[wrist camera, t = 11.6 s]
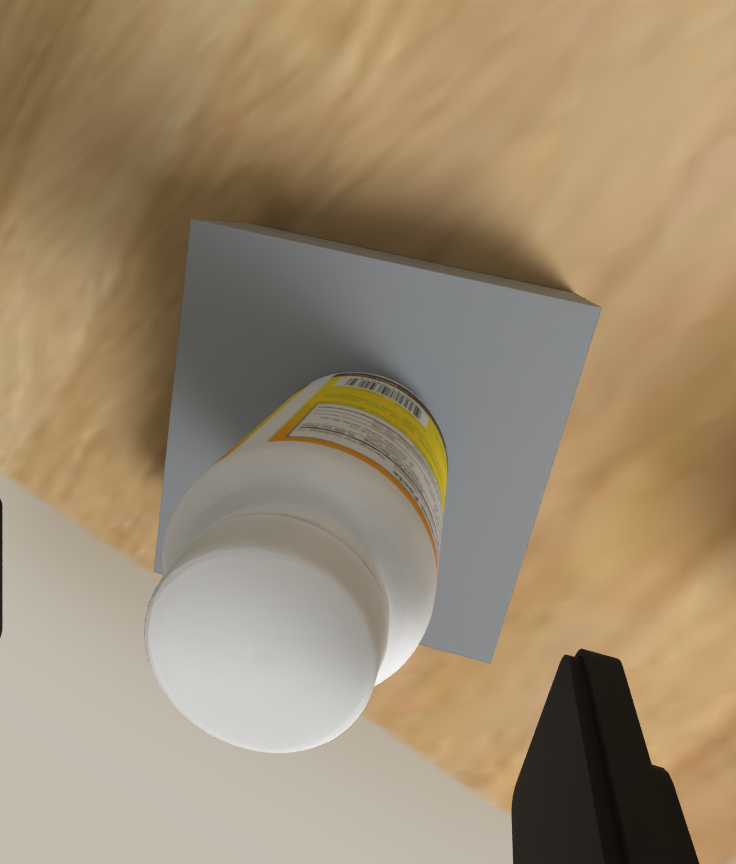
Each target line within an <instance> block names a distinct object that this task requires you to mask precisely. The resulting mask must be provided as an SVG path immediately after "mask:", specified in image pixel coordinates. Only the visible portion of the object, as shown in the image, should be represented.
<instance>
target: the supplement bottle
mask: <svg viewBox="0 0 736 864" xmlns="http://www.w3.org/2000/svg"><path fill="white" fill-rule="evenodd" d="M447 475H448V457H447V449H446V444H445V440H444V437H443V434H442V431H441V429H440V427H439V425H438V423H437V420H436V419H435V417H434V416H433V414H432V412H431V411H430V410H429V408H428V407H427V406H426V405H425V404H424V403H423V402H422V401H421V400H420V399H419V398H418V397H417V396H416V395H415V394H414V393H413V392H411V391H410V390H409V389H407V388H406V387H404V386H403V385H401V384H399V383H397V382H395V381H393V380H391V379H388V378H386V377H383V376H379V375H376V374H371V373H364V372H343V373H337V374H332V375H328V376H325V377H322V378H320V379H317V380H315V381H313V382H311V383H309V384H308V385H306V386H305V387H303V388H302V389H300V390H299V391H297V392H296V393H295V394H294V395H293V396H291V397H290V398H289V399H288V400H287V401H286V402H284V403H283V404H282V405H281V406H280V407H279V408H278V409H276V410H275V411H274V412H273V413H272V414H271V415H270V416H268V417H267V418H266V419H265V420H264V421H263V422H262V423H260V424H259V425H258V426H257V427H256V428H255V429H254V430H253V431H251V432H250V433H249V434H248V435H247V436H246V437H244V438H243V439H242V440H241V441H240V442H239V443H238V444H236V445H235V446H234V447H233V448H232V449H231V450H229V451H228V452H227V453H226V454H225V455H224V456H222V457H221V458H220V459H219V460H218V461H216V462H215V463H214V464H213V465H212V466H211V467H209V468H208V469H207V470H206V471H205V472H204V473H203V474H202V475H201V476H200V477H199V478H198V479H197V480H196V481H195V482H194V483H193V484H192V485H191V487H190V488H189V489H188V490H187V492H186V493H185V494H184V496H183V497H182V499H181V500H180V502H179V503H178V505H177V507H176V509H175V511H174V512H173V514H172V517H171V519H170V522H169V525H168V528H167V531H166V535H165V540H164V545H163V553H162V568H163V578H162V579H161V581H160V582H159V584H158V585H157V587H156V588H155V591H154V593H153V595H152V597H151V600H150V602H149V605H148V610H147V613H146V617H145V632H144V633H145V634H144V635H145V647H146V651H147V656H148V660H149V662H150V665H151V668H152V670H153V673H154V675H155V678H156V680H157V682H158V683H159V685H160V687H161V688H162V690H163V691H164V693H165V694H166V696H167V697H168V698H169V700H170V701H171V702H172V703H173V705H174V706H175V707H176V708H177V709H178V710H179V711H180V712H181V713H182V714H183V715H184V716H185V717H187V718H188V719H189V720H190V721H191V722H192V723H194V724H195V725H196V726H198V727H200V728H201V729H202V730H204V731H205V732H207V733H208V734H210V735H212V736H215V737H216V738H218V739H220V740H223V741H225V742H227V743H230V744H232V745H234V746H238V747H242V748H247V749H250V750H253V751H260V752H267V753H268V752H269V753H287V752H298V751H303V750H307V749H310V748H314V747H316V746H319V745H321V744H324V743H326V742H328V741H330V740H332V739H334V738H335V737H337V736H338V735H340V734H341V733H342V732H344V731H345V730H346V729H347V728H348V727H350V725H351V724H352V723H353V722H354V721H355V720H356V719H357V718H358V717H359V715H360V714H361V712H362V711H363V710H364V708H365V706H366V704H367V702H368V700H369V698H370V696H371V693H372V690H373V687H374V686H376V685H377V684H379V683H381V682H382V681H384V680H385V679H387V678H388V677H389V676H391V675H392V674H393V673H395V672H396V671H397V670H398V669H399V668H400V667H401V666H402V665H403V664H404V663H405V662H406V661H407V660H408V658H409V657H410V656H411V655H412V653H413V652H414V651H415V649H416V648H417V646H418V644H419V643H420V641H421V639H422V637H423V636H424V634H425V631H426V629H427V627H428V624H429V621H430V619H431V615H432V611H433V606H434V601H435V594H436V587H437V576H438V566H439V553H440V544H441V534H442V524H443V514H444V504H445V494H446V484H447Z"/></svg>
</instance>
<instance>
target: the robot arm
mask: <svg viewBox="0 0 736 864" xmlns="http://www.w3.org/2000/svg"><path fill="white" fill-rule="evenodd" d="M1 634H2V502H1V500H0V637H1ZM512 841H513V864H699V862H698V858H697V855H696V852H695V849H694V846H693V843H692V840H691V837H690V834H689V831H688V828H687V824H686V821H685V818H684V815H683V812H682V809H681V806H680V803H679V800H678V797H677V794H676V790H675V787H674V784H673V782H672V780H671V777H670V775H669V773H668V772H667V771H666V770H665V769H664V768H662V767H658V766H655V765H652V764H651V760H650V757H649V754H648V750H647V747H646V744H645V740H644V737H643V733H642V730H641V727H640V723H639V720H638V716H637V713H636V710H635V706H634V703H633V699H632V696H631V693H630V689H629V686H628V683H627V679H626V676H625V672H624V669H623V666H622V663H621V661H620V660H619V659H617V658H613V657H610V656H606V655H603V654H599V653H595V652H592V651H588V650H584V649H580V650H579V651H578V652H577V653H576V655H575V657H573V656H569V655H564V656H563V658H562V660H561V662H560V664H559V667H558V670H557V673H556V675H555V678H554V681H553V684H552V686H551V689H550V692H549V695H548V697H547V700H546V703H545V706H544V708H543V711H542V714H541V717H540V719H539V722H538V725H537V728H536V730H535V733H534V736H533V739H532V741H531V744H530V747H529V749H528V752H527V755H526V758H525V760H524V763H523V766H522V769H521V771H520V774H519V777H518V780H517V782H516V786H515V789H514V794H513V800H512Z"/></svg>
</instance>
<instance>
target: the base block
mask: <svg viewBox="0 0 736 864" xmlns="http://www.w3.org/2000/svg"><path fill="white" fill-rule="evenodd" d="M601 309H602V308H601V307H599V306H597V305H595V304H594V303H592V302H590V301H588V300H587V299H585V298H583V297H581V296H579V295H578V294H576V293H572V292H567V291H563V290H558V289H554V288H549V287H544V286H540V285H535V284H530V283H526V282H521V281H516V280H512V279H507V278H502V277H498V276H493V275H488V274H484V273H479V272H475V271H470V270H465V269H461V268H456V267H451V266H447V265H442V264H437V263H433V262H428V261H423V260H419V259H414V258H409V257H405V256H400V255H396V254H391V253H386V252H382V251H377V250H372V249H368V248H363V247H358V246H354V245H349V244H344V243H340V242H335V241H330V240H326V239H321V238H317V237H312V236H307V235H303V234H298V233H293V232H289V231H284V230H279V229H275V228H270V227H265V226H261V225H256V224H251V223H244V222H229V221H213V220H198V219H191V222H190V231H189V241H188V250H187V260H186V269H185V279H184V288H183V298H182V307H181V317H180V326H179V336H178V345H177V355H176V364H175V374H174V384H173V393H172V403H171V412H170V422H169V431H168V441H167V450H166V460H165V469H164V479H163V488H162V498H161V507H160V517H159V526H158V536H157V545H156V555H155V564H154V572H155V573H159V574H163V568H162V553H163V545H164V540H165V535H166V531H167V528H168V525H169V522H170V519H171V517H172V514H173V512H174V511H175V509H176V507H177V505H178V503H179V502H180V500H181V499H182V497H183V496H184V494H185V493H186V492H187V490H188V489H189V488H190V487H191V485H192V484H193V483H194V482H195V481H196V480H197V479H198V478H199V477H200V476H201V475H202V474H203V473H204V472H205V471H206V470H207V469H208V468H209V467H211V466H212V465H213V464H214V463H215V462H216V461H218V460H219V459H220V458H221V457H222V456H224V455H225V454H226V453H227V452H228V451H229V450H231V449H232V448H233V447H234V446H235V445H236V444H238V443H239V442H240V441H241V440H242V439H243V438H244V437H246V436H247V435H248V434H249V433H250V432H251V431H253V430H254V429H255V428H256V427H257V426H258V425H259V424H260V423H262V422H263V421H264V420H265V419H266V418H267V417H268V416H270V415H271V414H272V413H273V412H274V411H275V410H276V409H278V408H279V407H280V406H281V405H282V404H283V403H284V402H286V401H287V400H288V399H289V398H290V397H291V396H293V395H294V394H295V393H296V392H297V391H299V390H300V389H302V388H303V387H305V386H306V385H308V384H309V383H311V382H313V381H315V380H317V379H320V378H322V377H325V376H328V375H332V374H337V373H343V372H364V373H371V374H376V375H379V376H383V377H386V378H388V379H391V380H393V381H395V382H397V383H399V384H401V385H403V386H404V387H406V388H407V389H409V390H410V391H411V392H413V393H414V394H415V395H416V396H417V397H418V398H419V399H420V400H421V401H422V402H423V403H424V404H425V405H426V406H427V407H428V408H429V410H430V411H431V412H432V414H433V416H434V417H435V419H436V420H437V423H438V425H439V427H440V429H441V431H442V434H443V437H444V440H445V444H446V449H447V457H448V475H447V484H446V494H445V504H444V514H443V524H442V534H441V544H440V553H439V566H438V576H437V587H436V594H435V601H434V606H433V611H432V615H431V619H430V621H429V624H428V627H427V629H426V631H425V634H424V636H423V637H422V639H421V641H420V643H419V644H420V645H423V646H427V647H431V648H434V649H438V650H442V651H445V652H449V653H453V654H456V655H460V656H464V657H467V658H471V659H475V660H478V661H482V662H486V663H489V664H490V663H491V660H492V657H493V654H494V651H495V647H496V644H497V641H498V638H499V635H500V631H501V628H502V625H503V622H504V619H505V615H506V612H507V609H508V606H509V603H510V599H511V596H512V593H513V590H514V587H515V583H516V580H517V577H518V574H519V571H520V567H521V564H522V561H523V558H524V555H525V551H526V548H527V545H528V542H529V539H530V535H531V532H532V529H533V526H534V523H535V519H536V516H537V513H538V510H539V507H540V504H541V500H542V497H543V494H544V491H545V488H546V484H547V481H548V478H549V475H550V472H551V468H552V465H553V462H554V459H555V456H556V452H557V449H558V446H559V443H560V440H561V436H562V433H563V430H564V427H565V424H566V420H567V417H568V414H569V411H570V408H571V404H572V401H573V398H574V395H575V392H576V388H577V385H578V382H579V379H580V376H581V372H582V369H583V366H584V363H585V360H586V356H587V353H588V350H589V347H590V344H591V341H592V337H593V334H594V331H595V328H596V325H597V321H598V318H599V315H600V312H601Z"/></svg>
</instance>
